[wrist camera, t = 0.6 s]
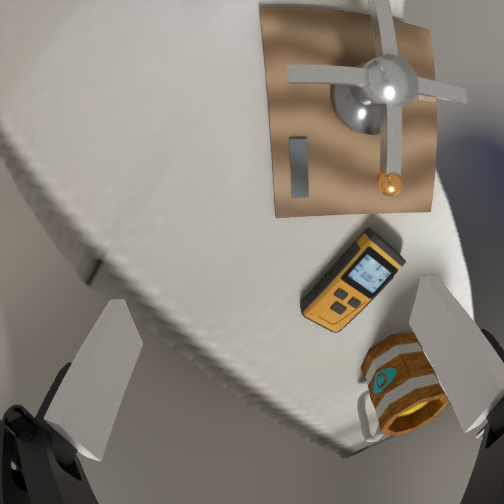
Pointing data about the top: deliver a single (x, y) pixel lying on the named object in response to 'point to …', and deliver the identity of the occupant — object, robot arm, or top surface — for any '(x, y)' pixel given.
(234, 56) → the top surface
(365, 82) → the capstan
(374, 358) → the mug
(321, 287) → the electronic device
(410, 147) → the wooden board
